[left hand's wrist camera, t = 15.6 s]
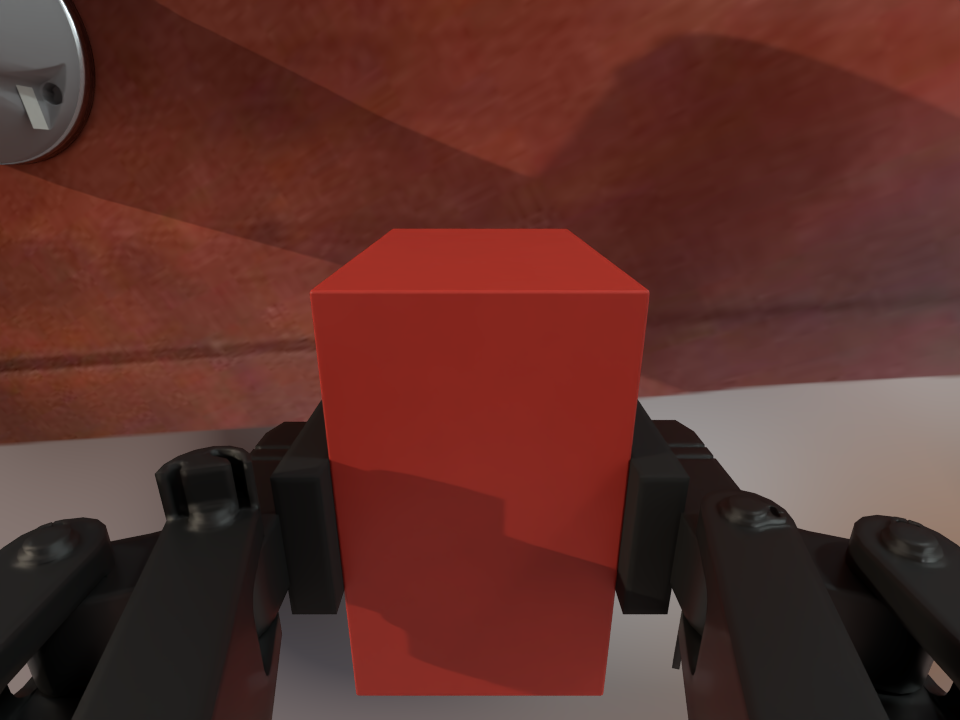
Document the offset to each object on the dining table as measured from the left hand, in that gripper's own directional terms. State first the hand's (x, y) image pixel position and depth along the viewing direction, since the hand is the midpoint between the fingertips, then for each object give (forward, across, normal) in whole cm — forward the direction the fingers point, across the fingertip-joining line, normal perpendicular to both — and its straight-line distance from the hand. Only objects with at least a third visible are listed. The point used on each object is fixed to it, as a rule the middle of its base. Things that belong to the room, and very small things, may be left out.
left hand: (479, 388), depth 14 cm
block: (+2, 0, 0) cm, 2 cm away
